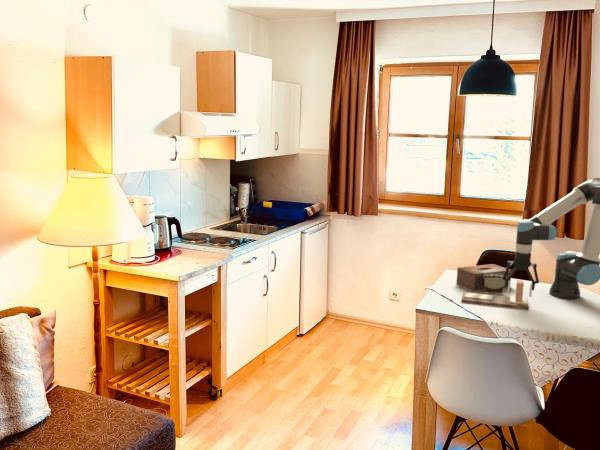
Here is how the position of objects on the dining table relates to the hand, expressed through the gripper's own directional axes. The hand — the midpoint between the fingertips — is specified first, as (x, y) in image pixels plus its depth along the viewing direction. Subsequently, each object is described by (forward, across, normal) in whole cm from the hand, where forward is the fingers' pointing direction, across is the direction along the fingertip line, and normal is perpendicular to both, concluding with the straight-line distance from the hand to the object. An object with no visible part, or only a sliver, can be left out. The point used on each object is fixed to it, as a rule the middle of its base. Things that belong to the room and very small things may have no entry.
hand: (519, 294), depth 303 cm
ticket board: (+5, +12, 0) cm, 13 cm away
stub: (+4, 0, 0) cm, 4 cm away
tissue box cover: (+6, +18, -30) cm, 35 cm away
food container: (+5, +12, -20) cm, 24 cm away
